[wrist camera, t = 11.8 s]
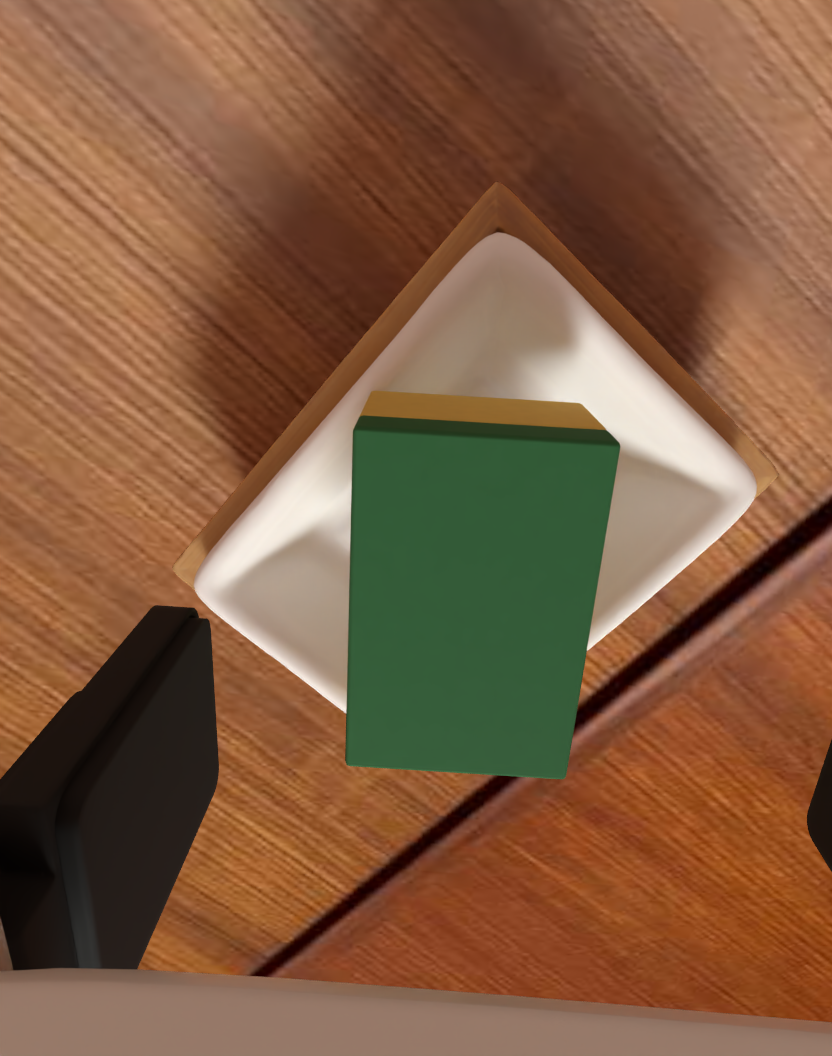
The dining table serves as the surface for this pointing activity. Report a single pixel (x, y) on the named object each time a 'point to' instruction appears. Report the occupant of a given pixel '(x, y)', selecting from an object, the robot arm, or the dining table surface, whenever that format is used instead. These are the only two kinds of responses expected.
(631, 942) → the dining table surface
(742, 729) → the dining table surface
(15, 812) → the robot arm
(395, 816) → the dining table surface
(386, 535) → the scrub sponge
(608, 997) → the dining table surface
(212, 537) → the soap dish
